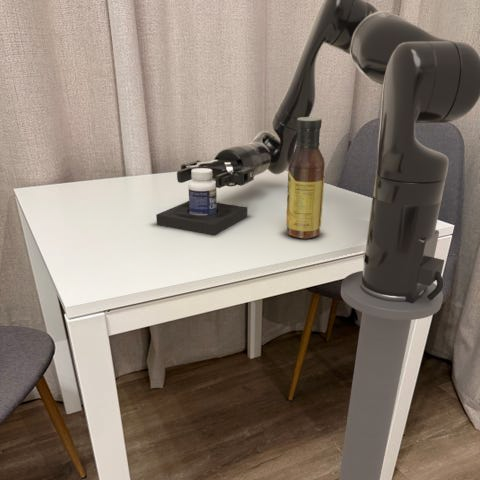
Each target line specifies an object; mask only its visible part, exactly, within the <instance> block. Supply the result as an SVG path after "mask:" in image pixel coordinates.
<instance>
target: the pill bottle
mask: <svg viewBox="0 0 480 480" xmlns="http://www.w3.org/2000/svg"><path fill="white" fill-rule="evenodd" d="M191 176H192V180H190V181H189V183H188V186H187V187H188V188H187V189H188V201H189V211H190V214H193V215H211V214H215V213H217V203H218V201H217V199H218V198H217V197H218V196H217V188H216V185H215V181H213V180H211V178H212V176H213V174H212V170H211V169H207V168H197V169H193V170H191Z"/></svg>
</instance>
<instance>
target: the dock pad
mask: <svg viewBox="0 0 480 480" xmlns="http://www.w3.org/2000/svg"><path fill="white" fill-rule="evenodd" d="M155 216H156V225H157V226H163V227H169V228H173V229H174V228H175V229H178V230H184V231H190V232H195V233H200V234H201V233H202V234H208V235H213V236H216V235H217V234H219V233H220V232H223V231H224V230H226V229H228V228H229V227H231V226H234V225H235V224H237V223H239V222H241V221H242V220H244V219H245V218H248V206H243V205H242V206H241V205H235V204H228V203H222V202H217V213H215V214H211V215H193V214H190V211H189V200H187V201H185V202H183V203H180V204H178V205H175V206H173V207H171V208H168V209H166V210H164V211H161V212H159V213H157V214H156V215H155Z"/></svg>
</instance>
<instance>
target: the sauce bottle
mask: <svg viewBox="0 0 480 480" xmlns="http://www.w3.org/2000/svg"><path fill="white" fill-rule="evenodd" d="M322 121H323V119H322V118H321V117H317V116H309V117H300V118H297V124H296V127H297V143H296V146H295V151H294V154H293V157H292V159H291V162H290V165H289V167H288V168H287V194H286V195H287V196H286V197H287V198H286V221H285V222H286V232H287V234H288V236H291V237H293V238H297V239H302V240H303V239H305V240H308V239H312V238H316V237H318V236H319V235H320V233H321V232H320V230H321V226H322V218H323V217H322V216H323V202H324V187H325V165H326V163H325V158H324V156H323V153H322V152H321V149H320V148H319V146H320V134H321V128H322Z"/></svg>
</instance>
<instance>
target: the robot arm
mask: <svg viewBox="0 0 480 480" xmlns="http://www.w3.org/2000/svg"><path fill="white" fill-rule="evenodd" d="M324 45H327V46H329V47H331V48H333V49H335V50H337V51H339V52H342V53H344V54H346V55H349V56H350V58H351V61H352V63H353V65H354V66H355V69H357V70H358V71H359V72H360V73H361V74H362V75H363V76H364V77H365V78H366V79H368V80H370V81H371V82H372V83H373V82H374V83H376V84H378V85H381V86H382V91H381V93H382V94H381V106H380V120H379V131H378V138H377V155H376V157H377V160H376V168H375V169H376V170H375V177H374V184H373V185H374V186H373V192H372V200H371V207H370V215H369V221H368V229H367V237H366V244H365V249H364V250H363V255H362V257H363V258H362V259H363V260H362V261H363V266H362V270H361V271H362V279H361V283H360V287H361V289H362V290H363V291H364V292H365V293H367V294H368V295H370V296H373V297H375V298H378V299H382V300H387V301H397V302H409V303H414V302H415V301H416V300H417V299H418V298H420V297H421V296H422V295H423V294H424V293H425V292H426V291H427V289H428V286H430V285H431V284H432V283H434V282H436V285H437V286H436V288H435V289H434V290H433V291H432V292H431V293H430V294H429V295H428V296H427V298H428V299H430V300H432V299H433V298H434V297H436V296H437V295H438V294H439V293H440V292H441V291H443V288H444V280H443V277H442V273H443V270H444V269H443V268H444V263H445V259H442V258H439V257H435V256H436V255H435V254H436V250H437V245H438V242H439V241H438V240H439V237H440V231H439V230H438V229H436V228H437V224H438V219H439V214H440V210H441V209H440V208H441V203H442V199H443V195H444V189H445V186H446V180H447V177H448V170H449V165H450V163H449V162H450V159H449V158H448V156H447V155H445V154H444V153H442V152H440V151H438V150H435V149H432V148H430V147H427V146H425V145H423V144H422V143H421V142H420V141H419V140H418V139H417V138H416V137H417V136H416V124H438V123H439V124H440V123H441V124H443V123H450V122H453V121H456V120H459V119H462V118H463V117H465V116H466V115H467V114H469V113H470V112H471V111H472V110H473V109H474V107H475V106H476V105H477V103H478V101H480V54H479V53H478V51H477V50H476V49H475V48H474V47H473V46H472V45H471V44H469V43H467V42H462V41H456V40H455V41H454V40H450V39H445V38H441V37H438V36H435V35H433V34H431V33H429V32H428V31H426V30H425V29H423V28H422V27H420V26H417V25H416V24H414V23H412V22H409V21H408V20H406V19H405V18H403V17H402V16H400V15H397V14H395V13H392V12H389V11H380V10H379V8H377V6H375V5H374V4H372V3H371V2H369V1H368V0H322V2H321V4H320V6H319V8H318V11H317V12H316V15H315V18H314V20H313V23H312V24H311V28H310V29H309V32H308V34H307V37H306V40H305V42H304V45H303V48H302V51H301V53H300V56H299V58H298V61H297V63H296V67H295V70H294V72H293V74H292V77H291V80H290V83H289V84H288V87H287V90H286V91H285V93H284V96H283V98H282V99H281V101H280V103H279V104H278V107H277V108H276V111H275V113H274V115H273V117H272V119H271V127H272V129H273V131H274V132H275V134H276V135H277V136H278V137H277V136H276V135H275V134H273V132H270V131H267V130H262V131H259V133H257V134H256V136H255V137H254V138H253V140H252V141H251V142H248V143H245V144H238V145H235V146H232V147H228V148H225V149H222V150H221V151H219V152H217V154H216V156H215V157H214V159H211V160H209V161H202V162H201V160H198V159H196V160H194V161H191V162H187V163H183V164H180V170H177V172H176V180H177V182H178V184H179V183H181V184H183V183H186V182H190V181H193V179H192V176H191V170H193V169H197V168H207V169H211V170H212V174H213V176H212V178H211V180H212V181H214V182H215V185H216V189H221V188H223V187H230V188H231V187H236V186H240V187H241V186H244V185H246V184H248V183H250V182H252V181H254V180H255V177H256V176H259V175H260V174H262V173H264V172H266V171H267V170H268V172H270V173H271V174H273V175H281V174H283V173H284V172H285V171H287V170H288V167H289V165H290V162H291V159H292V157H293V154H294V151H295V148H296V143H297V127H296V124H297V118H300V117H311V114H312V112H313V110H314V107H315V104H316V100H317V63H318V57H319V54H320V52H321V49H322V47H323V46H324Z"/></svg>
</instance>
